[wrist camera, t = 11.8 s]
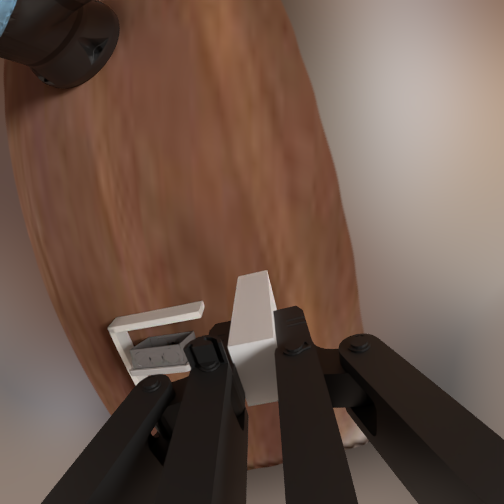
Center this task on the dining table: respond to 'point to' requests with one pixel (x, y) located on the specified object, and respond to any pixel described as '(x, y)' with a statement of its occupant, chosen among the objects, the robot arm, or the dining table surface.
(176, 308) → the u-shaped bracket
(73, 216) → the dining table surface
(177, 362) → the electrical switch
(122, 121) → the dining table surface
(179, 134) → the dining table surface
